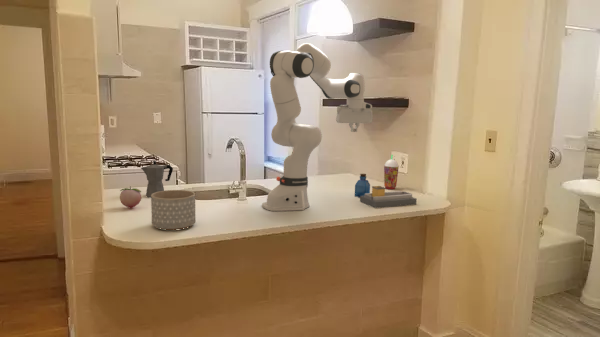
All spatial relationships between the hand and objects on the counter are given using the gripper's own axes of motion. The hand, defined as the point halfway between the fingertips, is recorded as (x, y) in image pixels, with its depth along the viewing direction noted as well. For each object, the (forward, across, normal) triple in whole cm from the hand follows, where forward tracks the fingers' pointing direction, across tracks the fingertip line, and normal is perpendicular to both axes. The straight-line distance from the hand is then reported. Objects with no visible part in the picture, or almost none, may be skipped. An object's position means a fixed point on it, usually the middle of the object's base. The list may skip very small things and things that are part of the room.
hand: (353, 131), depth 232 cm
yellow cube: (+31, +3, -21) cm, 37 cm away
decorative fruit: (+34, -110, +6) cm, 115 cm away
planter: (+34, -96, -28) cm, 106 cm away
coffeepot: (+34, -96, +29) cm, 106 cm away
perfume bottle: (+34, +5, -3) cm, 35 cm away
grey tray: (+34, +9, -21) cm, 41 cm away
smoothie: (+34, +32, +10) cm, 48 cm away
